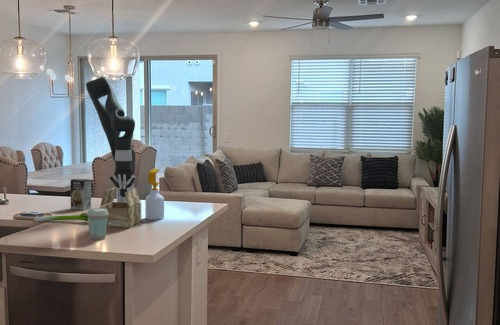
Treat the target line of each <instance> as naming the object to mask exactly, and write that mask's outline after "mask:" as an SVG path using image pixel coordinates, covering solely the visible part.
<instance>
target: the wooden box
mask: <svg viewBox="0 0 500 325" xmlns="http://www.w3.org/2000/svg"><path fill="white" fill-rule="evenodd" d="M99 208H104V209H107V211H108V216H107V226H106V228H109V229H112V228H114V229H131V228H132V227H134V226H136V225H137V224H140V222H141V221H142V215H141V214H142V211H141V210H142V202H139V203H137V204H135V205H133V206H131V207H128V203H127V202H117V201H113V202H110V203H108V204H106V205H103V206H100V207H99Z"/></svg>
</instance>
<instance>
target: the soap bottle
mask: <svg viewBox="0 0 500 325" xmlns="http://www.w3.org/2000/svg"><path fill="white" fill-rule="evenodd" d="M159 171H160V169H159V168H152V169H151V170H149V171H148V173H147V176H148V178H147V180H148V184H150V185H151V186H152V188H151V190H150V191H151V193H150V194H148V195H147V196H146V197H145V201H144V203H145V206H144V207H145V209H144V210H145V215H144V216H145V219H147V220H151V221H157V220H158V221H159V219H160V220H163V219H164V218H165V197H164V196H163V195H161V194H160V193H159V188H158V185H160V184H161V182H158V181H157V173H158V172H159Z"/></svg>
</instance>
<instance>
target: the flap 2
mask: <svg viewBox="0 0 500 325" xmlns="http://www.w3.org/2000/svg"><path fill="white" fill-rule="evenodd" d="M125 196H126V200H127V203H128V207H131V206H133V205H135V204H137V203H141V200H140V196H139V192H138V188H137V187H134V189H132V190H129V191H127V192H125Z"/></svg>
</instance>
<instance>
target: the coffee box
mask: <svg viewBox="0 0 500 325" xmlns="http://www.w3.org/2000/svg"><path fill="white" fill-rule="evenodd" d="M89 209H92V179H87V178H72V179H70V210H79V211H88V210H89Z"/></svg>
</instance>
